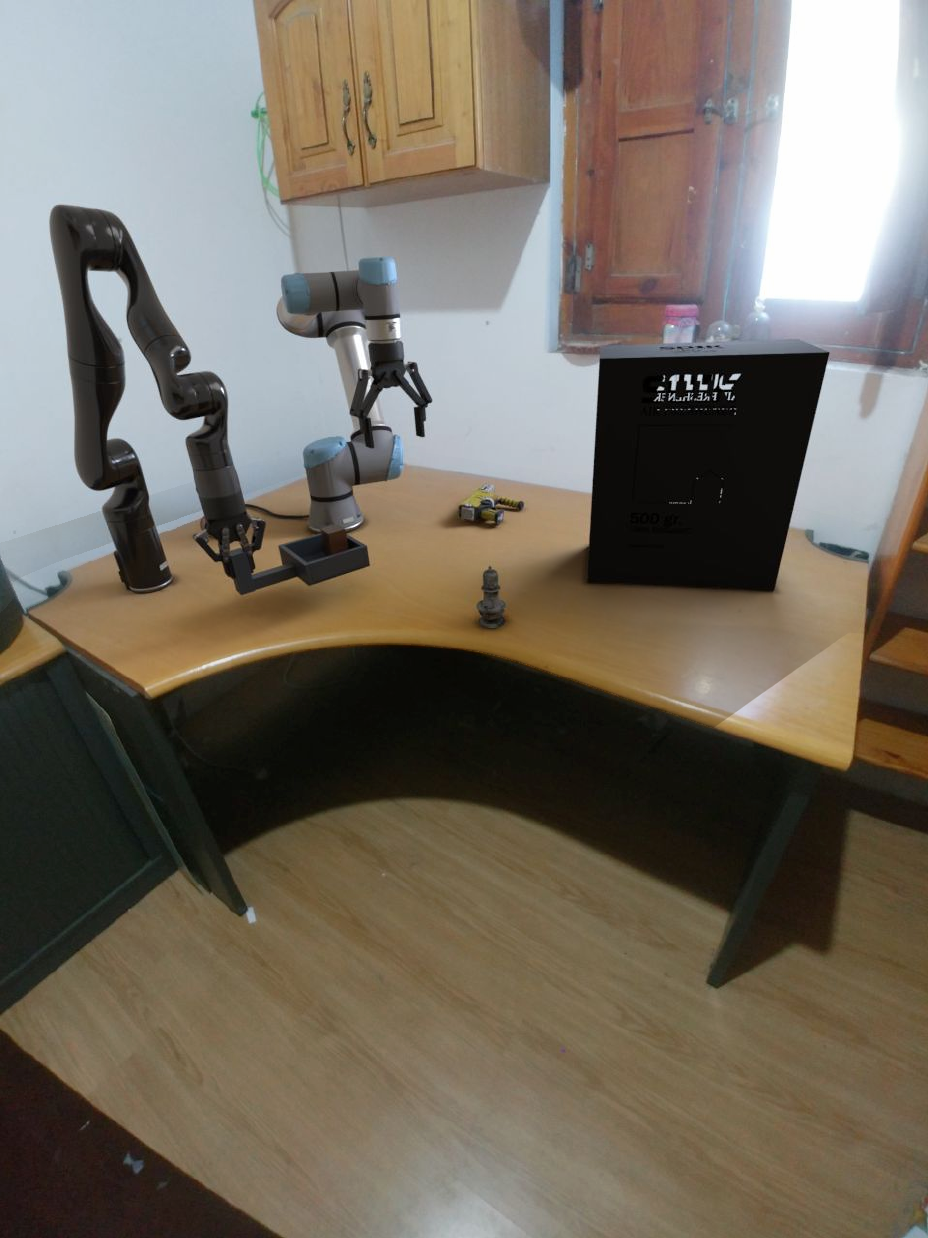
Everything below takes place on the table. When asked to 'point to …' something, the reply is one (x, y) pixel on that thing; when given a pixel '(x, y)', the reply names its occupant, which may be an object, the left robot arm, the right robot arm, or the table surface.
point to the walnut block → (334, 539)
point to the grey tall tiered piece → (491, 601)
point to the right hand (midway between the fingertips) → (395, 441)
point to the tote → (300, 564)
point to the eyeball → (203, 523)
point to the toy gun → (486, 505)
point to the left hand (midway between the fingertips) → (241, 574)
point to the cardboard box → (699, 461)
